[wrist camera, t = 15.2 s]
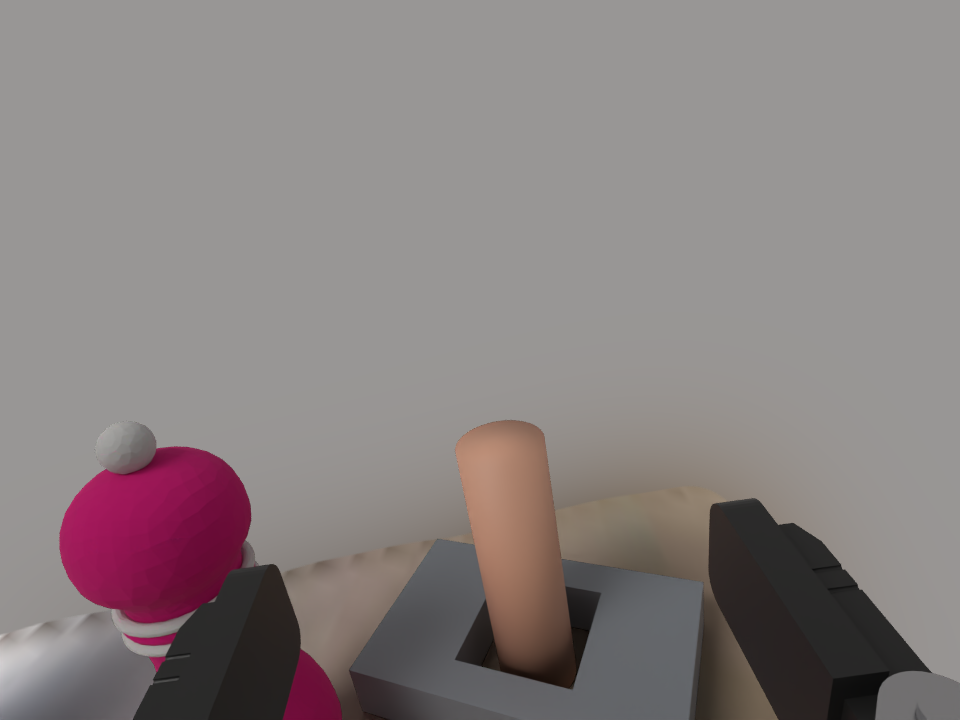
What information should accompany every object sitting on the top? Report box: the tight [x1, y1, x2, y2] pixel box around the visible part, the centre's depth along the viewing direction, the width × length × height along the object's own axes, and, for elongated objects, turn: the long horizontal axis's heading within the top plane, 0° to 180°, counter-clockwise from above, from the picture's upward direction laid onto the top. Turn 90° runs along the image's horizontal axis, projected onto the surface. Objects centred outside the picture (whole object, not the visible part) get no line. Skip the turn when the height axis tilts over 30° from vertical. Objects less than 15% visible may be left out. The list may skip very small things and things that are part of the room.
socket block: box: [349, 539, 704, 720], centre depth 31 cm, size 16×10×3 cm, turn 67°
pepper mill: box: [60, 421, 342, 720], centre depth 24 cm, size 7×7×20 cm
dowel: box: [455, 420, 576, 689], centre depth 29 cm, size 4×4×14 cm
